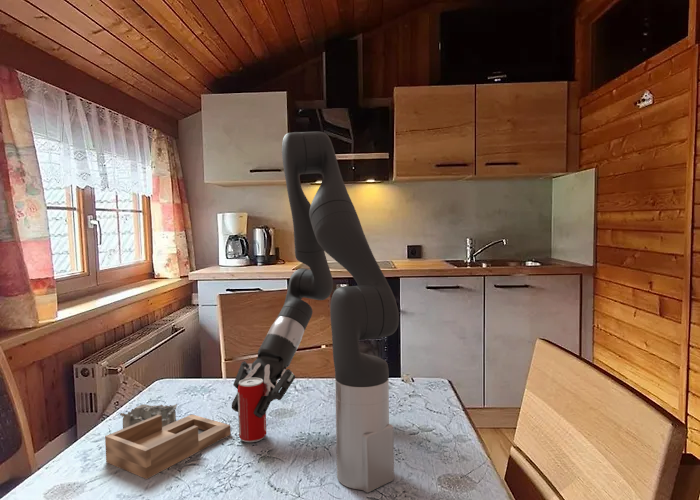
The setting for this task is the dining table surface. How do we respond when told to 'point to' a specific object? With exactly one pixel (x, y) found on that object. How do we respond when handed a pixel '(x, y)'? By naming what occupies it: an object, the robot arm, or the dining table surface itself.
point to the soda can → (250, 410)
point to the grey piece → (149, 414)
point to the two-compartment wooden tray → (161, 443)
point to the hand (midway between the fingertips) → (246, 412)
